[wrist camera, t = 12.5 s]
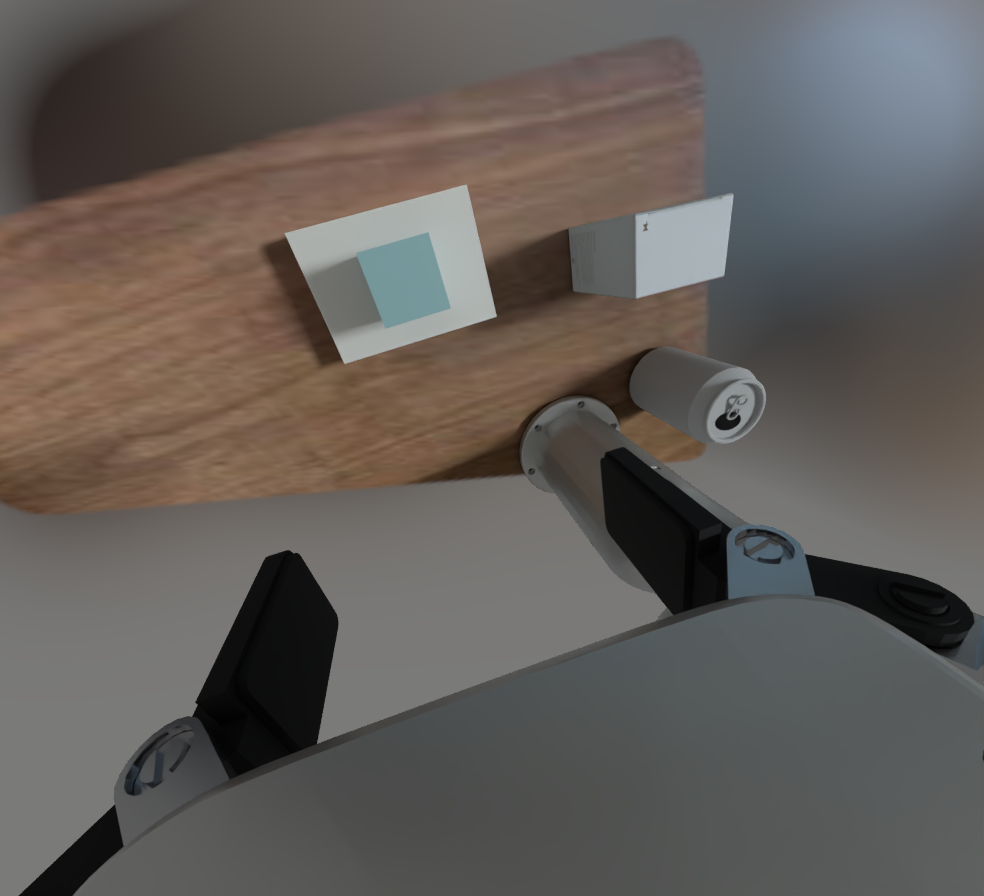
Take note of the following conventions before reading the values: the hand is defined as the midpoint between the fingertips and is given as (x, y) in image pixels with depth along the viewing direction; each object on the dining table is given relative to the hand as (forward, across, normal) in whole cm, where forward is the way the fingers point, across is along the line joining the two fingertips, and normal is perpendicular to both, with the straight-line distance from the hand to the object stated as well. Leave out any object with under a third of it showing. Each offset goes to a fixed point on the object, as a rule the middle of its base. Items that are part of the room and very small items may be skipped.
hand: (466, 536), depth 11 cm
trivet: (+27, 0, -7) cm, 28 cm away
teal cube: (+25, 0, -7) cm, 26 cm away
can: (+29, -25, +9) cm, 39 cm away
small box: (+28, -20, -5) cm, 35 cm away
